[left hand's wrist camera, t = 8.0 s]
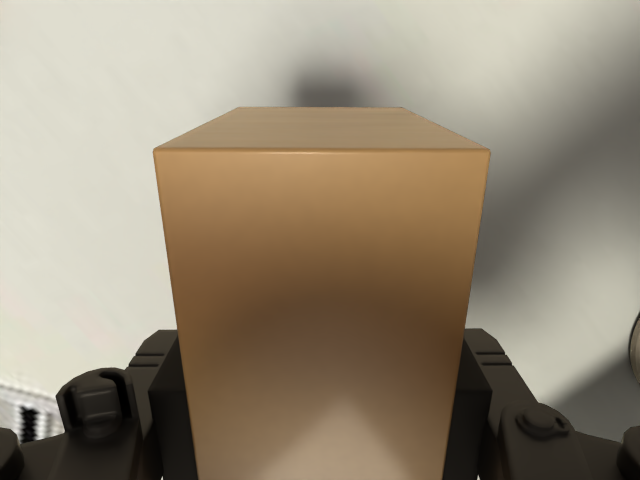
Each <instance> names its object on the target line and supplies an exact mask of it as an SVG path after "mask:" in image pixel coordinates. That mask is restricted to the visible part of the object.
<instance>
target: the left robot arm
mask: <svg viewBox="0 0 640 480" xmlns="http://www.w3.org/2000/svg"><path fill="white" fill-rule="evenodd" d="M630 361H631V366H632V370H633V373H634V375H635V377H636V379H637V381H638V382H639V384H640V318H639V320H638V322H637V324H636V327H635V329H634V332H633V336H632V339H631V346H630ZM56 400H57V404H58V407H59V411H60V414H61V418H62V422H63V425H64V429H65V432H64V433H63V434H60V435H56V436H53V437H49V438H45V439H41V440H36V441H32V442H28V443H24V444H20V443H19V440H18V437H17V434H15V433H14V432H13V431H12V430H11V429H7V428H1V427H0V480H161V478H162V476H163V480H198V474H197V467H196V460H195V453H194V445H193V438H192V431H191V424H190V417H189V409H188V402H187V395H186V388H185V380H184V373H183V366H182V359H181V352H180V344H179V337H178V330H158V331H157V332H155V333H154V334H153V335H151V336H150V337H149V338H147V339H146V340H145V341H144V342H143V343H142V345H141V346H140V348H139V349H138V351H137V352H136V356H134V357H133V358H132V360H131V361H130V363H129V366H128V367H127V368H126V369H125V370H123V369H119V368H100V369H96V370H92V371H88V372H86V373H84V374H81V375H79V376H77V377H75V378H73V379H72V380H71V381H69V382H68V383H67V384H65V385H64V386H63V387H62V388H61V389H60V391H59V392H58V393H57V395H56ZM478 475H479V478H480V480H640V426H636V427H630V428H629V429H628V430H627V431H626V432H625V433H624V435H623V438H622V441H621V443H620V442H616V441H611V440H607V439H603V438H599V437H594V436H590V435H586V434H583V433H580V432H577V431H575V430H574V428H573V426H572V425H571V423H570V422H569V420H568V419H566V418H565V417H564V416H563V415H562V414H561V413H559V412H558V411H556V410H555V409H553V408H551V407H549V406H547V405H545V404H541V403H538V402H537V400H536V399H535V397H534V396H533V394H532V393H531V391H530V390H529V388H528V386H527V385H526V383H525V382H524V380H523V379H522V377H521V376H520V374H519V373H518V371H517V370H516V368H515V367H514V366H512V362H511V361H510V359H509V358H508V356H507V355H505V352H504V350H503V349H502V347H501V346H500V344H499V343H498V341H497V340H496V339H495V338H494V337H492V336H491V335H490V334H488V333H487V332H486V331H484V330H483V329H464V336H463V343H462V350H461V356H460V363H459V370H458V377H457V383H456V390H455V397H454V404H453V410H452V417H451V424H450V431H449V437H448V444H447V451H446V458H445V464H444V471H443V478H442V480H477V477H478Z"/></svg>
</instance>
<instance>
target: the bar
mask: <svg viewBox="0 0 640 480" xmlns="http://www.w3.org/2000/svg"><path fill="white" fill-rule="evenodd" d="M490 154H491V152H490V149H487V148H485V147H483V146H481V145H479V144H477V143H475V142H473V141H471V140H469V139H467V138H465V137H462V136H460V135H458V134H456V133H454V132H452V131H450V130H448V129H446V128H444V127H442V126H440V125H437V124H435V123H433V122H431V121H429V120H427V119H425V118H423V117H421V116H419V115H417V114H414V113H412V112H410V111H408V110H406V109H404V108H402V107H238V108H236V109H234V110H232V111H230V112H228V113H226V114H224V115H222V116H219V117H217V118H215V119H213V120H211V121H209V122H207V123H205V124H203V125H201V126H199V127H197V128H195V129H193V130H191V131H189V132H187V133H185V134H183V135H181V136H179V137H176V138H174V139H172V140H170V141H168V142H166V143H164V144H162V145H160V146H158V147H156V148H154V150H153V157H154V164H155V172H156V179H157V186H158V193H159V200H160V208H161V215H162V222H163V229H164V236H165V244H166V251H167V258H168V265H169V272H170V280H171V287H172V294H173V301H174V308H175V316H176V323H177V330H178V337H179V344H180V352H181V359H182V366H183V373H184V380H185V388H186V395H187V402H188V409H189V417H190V424H191V431H192V438H193V445H194V453H195V460H196V467H197V474H198V480H442V478H443V471H444V464H445V458H446V451H447V444H448V437H449V431H450V424H451V417H452V410H453V404H454V397H455V390H456V383H457V377H458V370H459V363H460V356H461V350H462V343H463V336H464V329H465V323H466V316H467V309H468V303H469V296H470V289H471V282H472V276H473V269H474V262H475V255H476V249H477V242H478V235H479V228H480V222H481V215H482V208H483V201H484V195H485V188H486V181H487V174H488V168H489V161H490Z"/></svg>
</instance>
